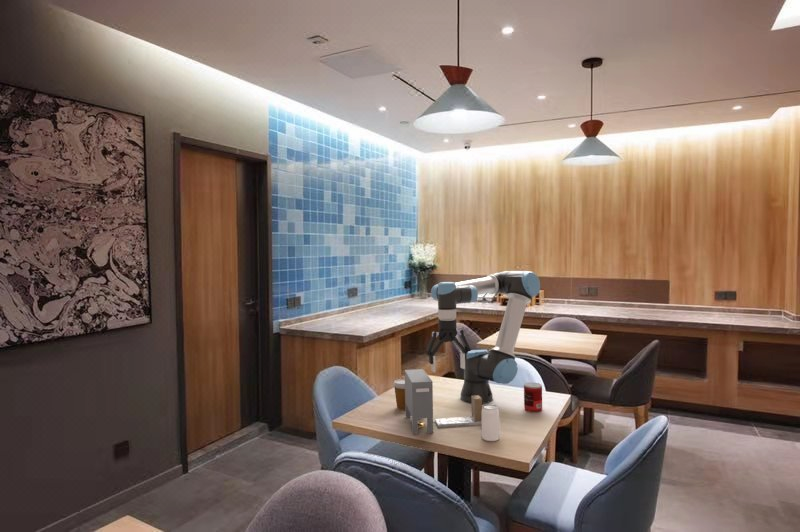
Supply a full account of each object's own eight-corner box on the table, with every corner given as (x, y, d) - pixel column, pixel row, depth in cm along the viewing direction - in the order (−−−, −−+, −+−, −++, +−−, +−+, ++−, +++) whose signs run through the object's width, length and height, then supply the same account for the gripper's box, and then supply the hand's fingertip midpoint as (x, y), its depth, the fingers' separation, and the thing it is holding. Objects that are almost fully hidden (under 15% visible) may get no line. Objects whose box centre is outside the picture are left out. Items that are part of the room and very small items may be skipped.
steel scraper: (479, 419, 202) (478, 394, 201) (484, 425, 195) (484, 399, 194) (434, 422, 199) (434, 397, 199) (438, 428, 192) (437, 402, 192)
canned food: (542, 407, 216) (542, 382, 215) (541, 412, 208) (541, 387, 208) (525, 405, 218) (524, 381, 218) (523, 411, 211) (523, 386, 210)
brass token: (424, 423, 198) (424, 421, 197) (426, 428, 193) (426, 425, 193) (412, 424, 197) (412, 421, 197) (414, 428, 192) (414, 425, 192)
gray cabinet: (423, 415, 207) (423, 369, 207) (433, 433, 185) (432, 382, 185) (405, 416, 206) (404, 369, 206) (413, 435, 184) (412, 383, 184)
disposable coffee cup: (412, 411, 213) (412, 384, 212) (391, 410, 214) (391, 383, 214) (416, 405, 222) (415, 379, 222) (395, 404, 224) (395, 378, 224)
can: (479, 435, 183) (479, 404, 182) (496, 435, 183) (496, 403, 183) (484, 442, 176) (483, 409, 176) (501, 441, 177) (501, 408, 177)
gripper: (469, 316, 208) (470, 365, 209) (416, 320, 200) (417, 371, 200) (478, 318, 201) (479, 368, 202) (423, 322, 193) (424, 375, 193)
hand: (448, 370), depth 201 cm, fingers open, 13 cm apart
